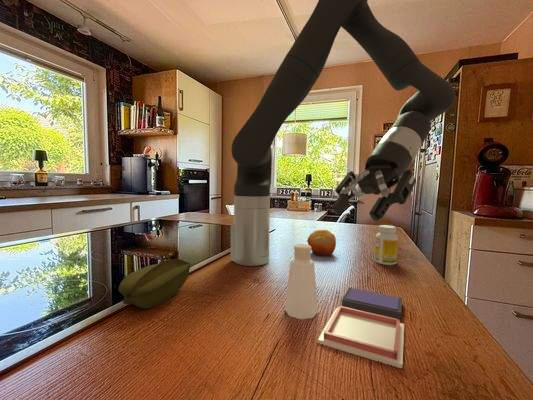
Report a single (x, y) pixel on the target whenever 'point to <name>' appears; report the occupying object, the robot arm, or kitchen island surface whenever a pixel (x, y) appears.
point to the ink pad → (373, 302)
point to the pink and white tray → (365, 335)
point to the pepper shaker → (301, 285)
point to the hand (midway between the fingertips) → (353, 214)
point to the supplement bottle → (386, 245)
